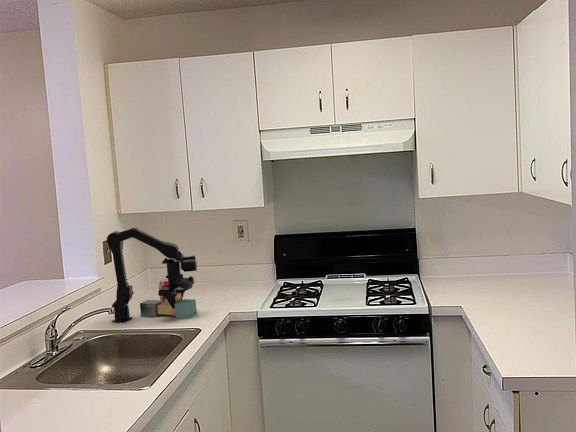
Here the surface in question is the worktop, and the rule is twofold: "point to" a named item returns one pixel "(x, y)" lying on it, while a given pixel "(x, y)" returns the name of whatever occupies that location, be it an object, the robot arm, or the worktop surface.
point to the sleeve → (149, 308)
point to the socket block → (185, 308)
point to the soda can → (163, 285)
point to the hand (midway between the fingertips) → (176, 306)
